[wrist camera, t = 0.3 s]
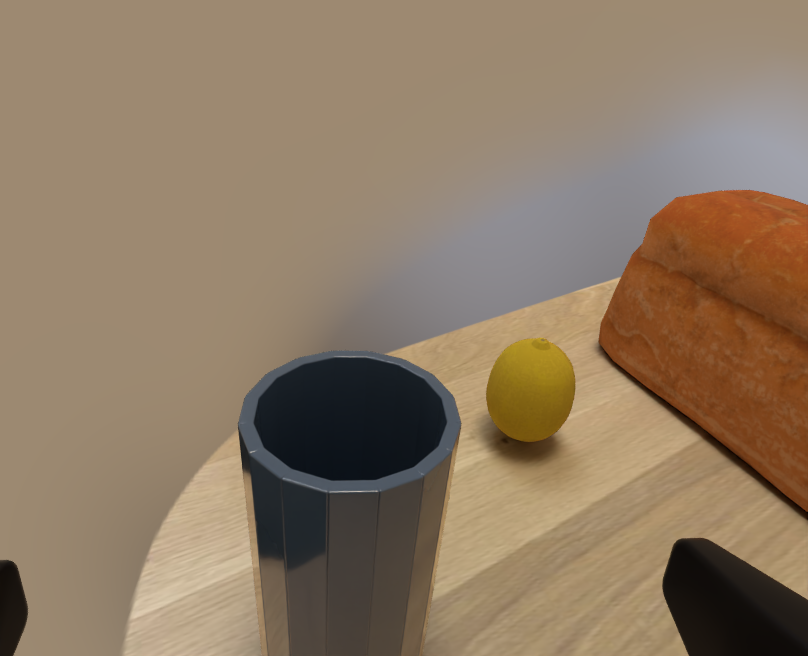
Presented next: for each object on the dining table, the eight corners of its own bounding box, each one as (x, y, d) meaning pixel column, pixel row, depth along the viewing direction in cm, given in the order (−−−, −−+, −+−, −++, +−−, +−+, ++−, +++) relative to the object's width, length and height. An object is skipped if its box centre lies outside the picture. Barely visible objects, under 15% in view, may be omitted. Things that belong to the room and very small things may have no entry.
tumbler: (428, 739, 21) (480, 489, 14) (254, 752, 21) (219, 495, 14) (410, 584, 27) (441, 351, 20) (274, 590, 26) (256, 348, 19)
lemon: (527, 480, 34) (554, 376, 30) (462, 432, 37) (479, 333, 33) (575, 443, 37) (606, 345, 33) (511, 402, 41) (532, 309, 37)
